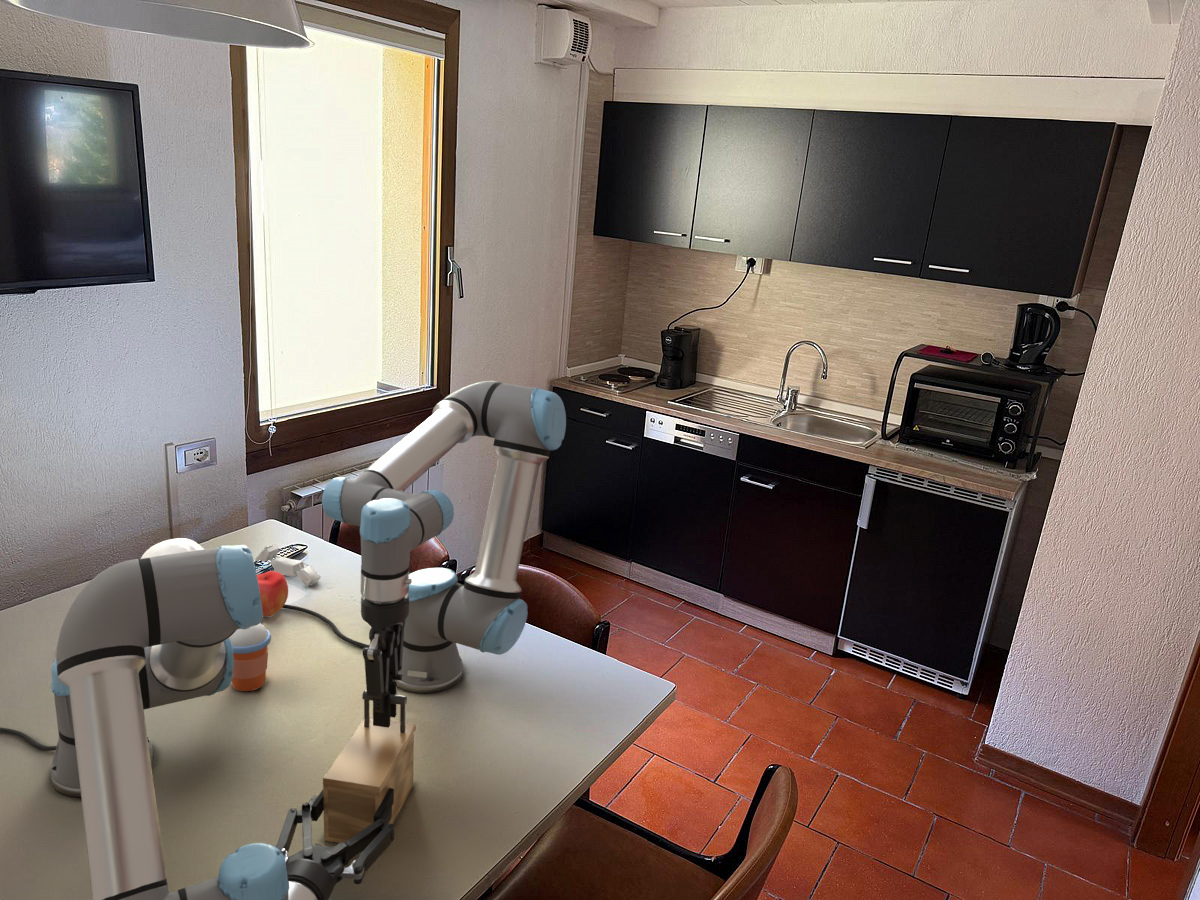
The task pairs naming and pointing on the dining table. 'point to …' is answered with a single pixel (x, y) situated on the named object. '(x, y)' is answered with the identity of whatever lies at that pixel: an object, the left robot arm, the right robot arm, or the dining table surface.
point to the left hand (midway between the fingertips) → (361, 790)
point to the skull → (172, 547)
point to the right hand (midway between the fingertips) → (384, 719)
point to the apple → (272, 592)
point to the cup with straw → (250, 657)
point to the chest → (365, 801)
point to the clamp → (288, 565)
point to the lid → (371, 751)
